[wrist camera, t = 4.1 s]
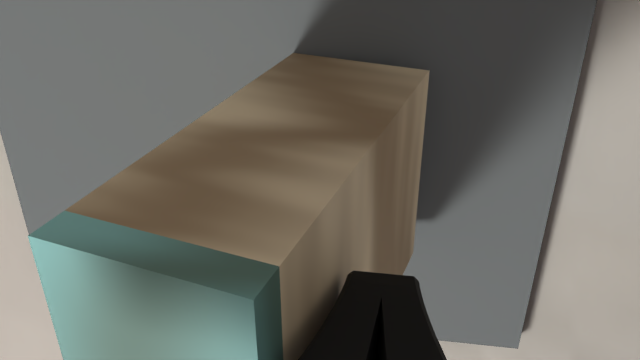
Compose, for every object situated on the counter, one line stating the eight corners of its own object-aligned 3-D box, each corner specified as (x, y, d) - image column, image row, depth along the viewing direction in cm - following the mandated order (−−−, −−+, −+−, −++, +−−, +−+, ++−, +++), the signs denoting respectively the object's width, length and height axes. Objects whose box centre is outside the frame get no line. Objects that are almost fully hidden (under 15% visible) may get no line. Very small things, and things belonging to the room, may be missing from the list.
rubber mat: (616, -119, 15) (623, -117, 14) (515, 336, 22) (517, 348, 22) (-57, -130, 17) (-72, -128, 17) (54, 289, 25) (46, 299, 24)
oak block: (429, 70, 16) (253, 300, 8) (412, 252, 19) (271, 552, 11) (293, 52, 18) (27, 235, 10) (297, 225, 21) (97, 476, 13)
